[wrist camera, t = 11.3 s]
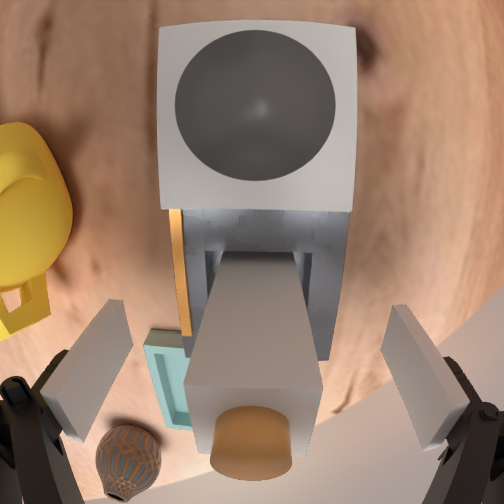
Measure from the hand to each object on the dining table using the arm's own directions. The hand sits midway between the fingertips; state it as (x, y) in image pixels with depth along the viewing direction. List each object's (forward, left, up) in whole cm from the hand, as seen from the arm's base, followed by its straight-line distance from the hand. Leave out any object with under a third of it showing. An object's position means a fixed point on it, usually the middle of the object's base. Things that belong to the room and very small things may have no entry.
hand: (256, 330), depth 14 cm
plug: (0, 0, -5) cm, 5 cm away
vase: (-13, -20, -7) cm, 25 cm away
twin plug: (0, +9, -5) cm, 11 cm away
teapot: (-19, +6, -7) cm, 21 cm away
